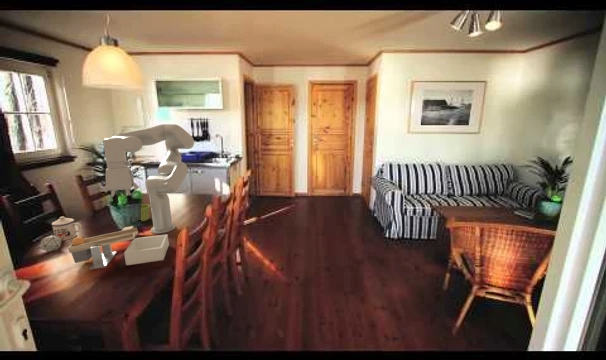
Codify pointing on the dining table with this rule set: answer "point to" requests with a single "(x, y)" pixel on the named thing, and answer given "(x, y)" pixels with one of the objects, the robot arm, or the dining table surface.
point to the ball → (77, 241)
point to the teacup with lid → (65, 228)
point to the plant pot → (144, 212)
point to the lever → (100, 243)
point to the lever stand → (101, 256)
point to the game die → (50, 243)
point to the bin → (146, 249)
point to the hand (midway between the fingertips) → (123, 203)
